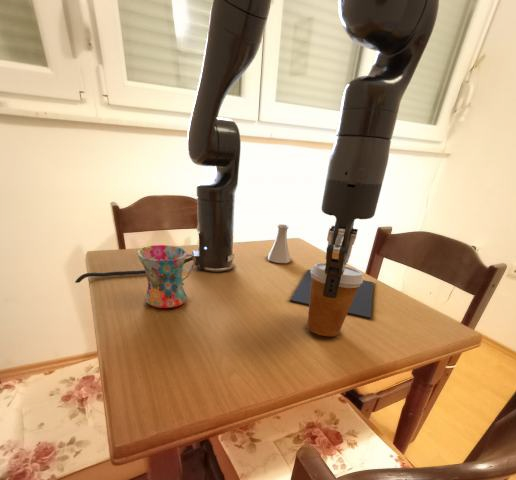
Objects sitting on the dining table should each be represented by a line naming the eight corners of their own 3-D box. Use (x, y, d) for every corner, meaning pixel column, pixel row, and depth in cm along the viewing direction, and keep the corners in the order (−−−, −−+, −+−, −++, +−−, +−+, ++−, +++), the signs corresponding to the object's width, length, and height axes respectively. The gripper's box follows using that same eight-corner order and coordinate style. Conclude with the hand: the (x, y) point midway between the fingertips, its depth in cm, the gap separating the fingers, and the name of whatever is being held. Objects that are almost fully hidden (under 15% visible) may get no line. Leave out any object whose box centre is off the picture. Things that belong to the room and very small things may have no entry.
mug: (157, 316, 61) (151, 263, 55) (135, 298, 66) (128, 248, 60) (208, 301, 68) (207, 253, 62) (185, 286, 73) (182, 240, 67)
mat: (370, 319, 67) (370, 317, 67) (290, 301, 71) (290, 299, 71) (372, 283, 85) (373, 282, 85) (308, 270, 89) (308, 269, 89)
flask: (292, 258, 97) (297, 224, 92) (288, 265, 91) (293, 230, 86) (269, 254, 98) (273, 221, 93) (264, 261, 92) (268, 226, 87)
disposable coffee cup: (347, 326, 64) (364, 269, 59) (346, 345, 56) (365, 279, 51) (302, 316, 66) (315, 259, 61) (294, 332, 58) (308, 268, 52)
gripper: (333, 174, 49) (314, 279, 58) (319, 176, 38) (299, 306, 47) (383, 179, 47) (355, 287, 56) (383, 183, 36) (349, 316, 45)
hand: (329, 295), depth 52 cm, fingers closed
